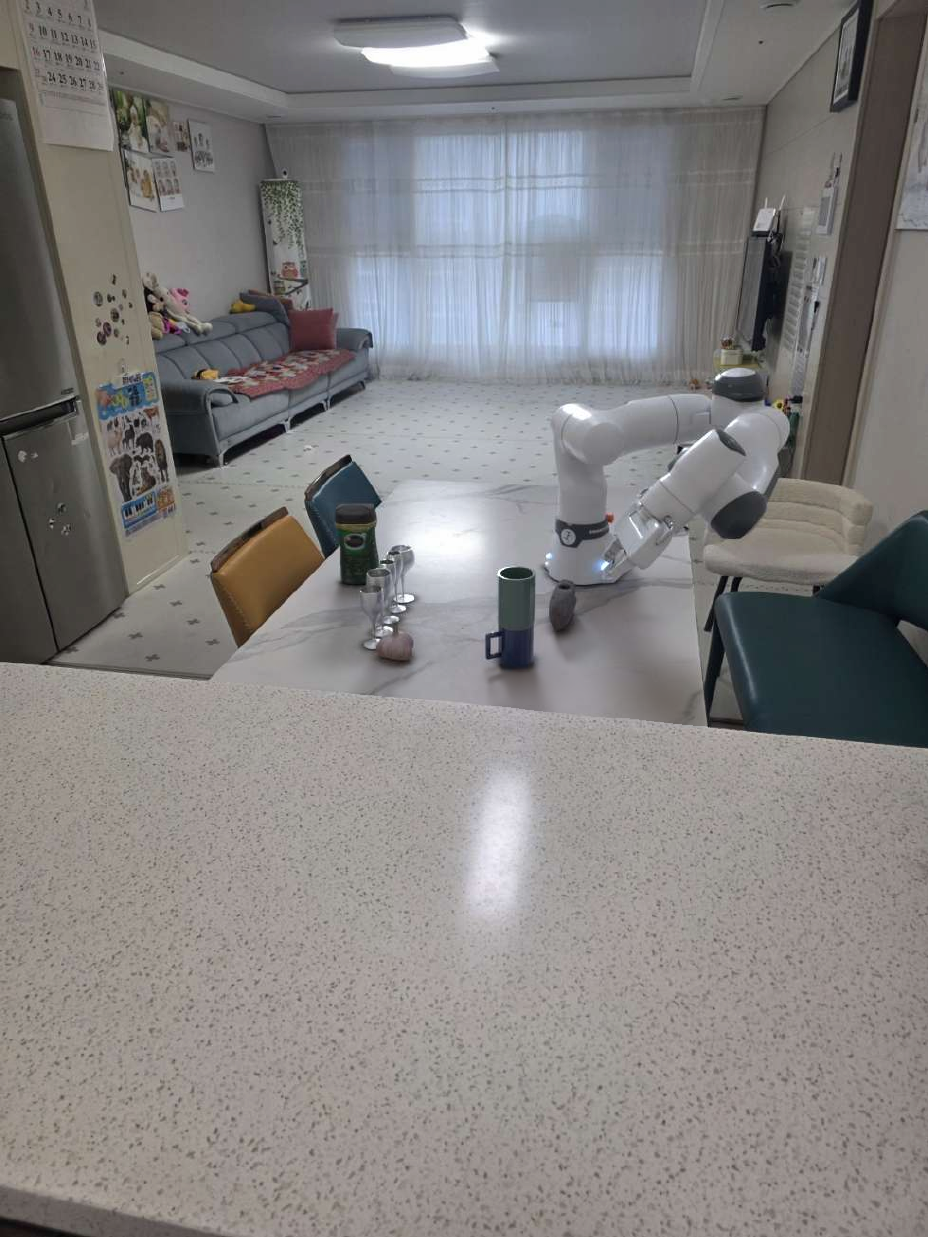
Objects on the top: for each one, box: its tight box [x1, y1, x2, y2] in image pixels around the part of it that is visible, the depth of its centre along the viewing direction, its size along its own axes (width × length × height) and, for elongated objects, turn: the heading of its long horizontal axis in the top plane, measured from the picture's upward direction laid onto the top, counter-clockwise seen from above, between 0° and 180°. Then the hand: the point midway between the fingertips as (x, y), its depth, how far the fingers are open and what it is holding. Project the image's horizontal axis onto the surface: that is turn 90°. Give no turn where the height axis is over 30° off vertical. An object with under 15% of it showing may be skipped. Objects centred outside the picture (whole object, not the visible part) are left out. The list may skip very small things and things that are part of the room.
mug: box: [484, 624, 535, 670], centre depth 155 cm, size 10×7×8 cm
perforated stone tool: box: [548, 579, 578, 631], centre depth 171 cm, size 15×5×7 cm, turn 164°
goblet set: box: [359, 544, 416, 650], centre depth 172 cm, size 28×6×13 cm, turn 169°
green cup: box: [496, 565, 536, 631], centre depth 152 cm, size 7×7×10 cm
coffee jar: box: [334, 502, 380, 585], centre depth 192 cm, size 10×8×19 cm
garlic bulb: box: [375, 620, 414, 661], centre depth 158 cm, size 8×7×8 cm
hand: (608, 567), depth 147 cm, fingers open, 8 cm apart
